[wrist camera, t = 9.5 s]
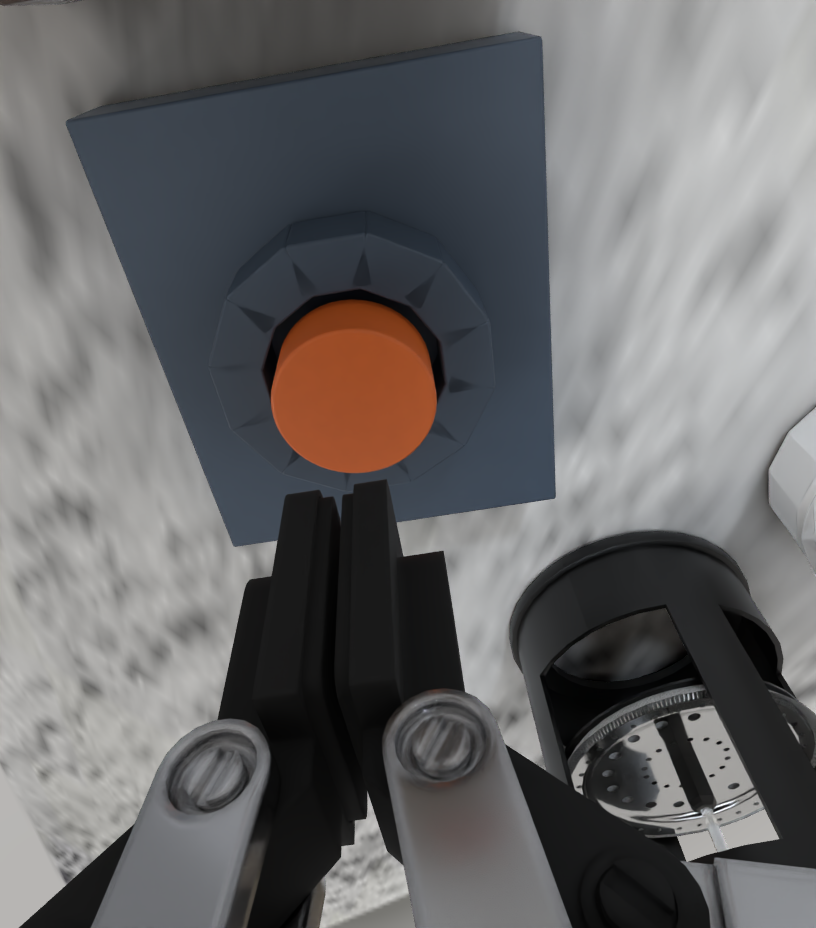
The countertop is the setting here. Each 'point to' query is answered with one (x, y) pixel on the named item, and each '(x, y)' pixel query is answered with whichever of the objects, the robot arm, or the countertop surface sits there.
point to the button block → (345, 259)
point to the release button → (354, 387)
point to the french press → (672, 699)
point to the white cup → (797, 485)
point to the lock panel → (33, 2)
